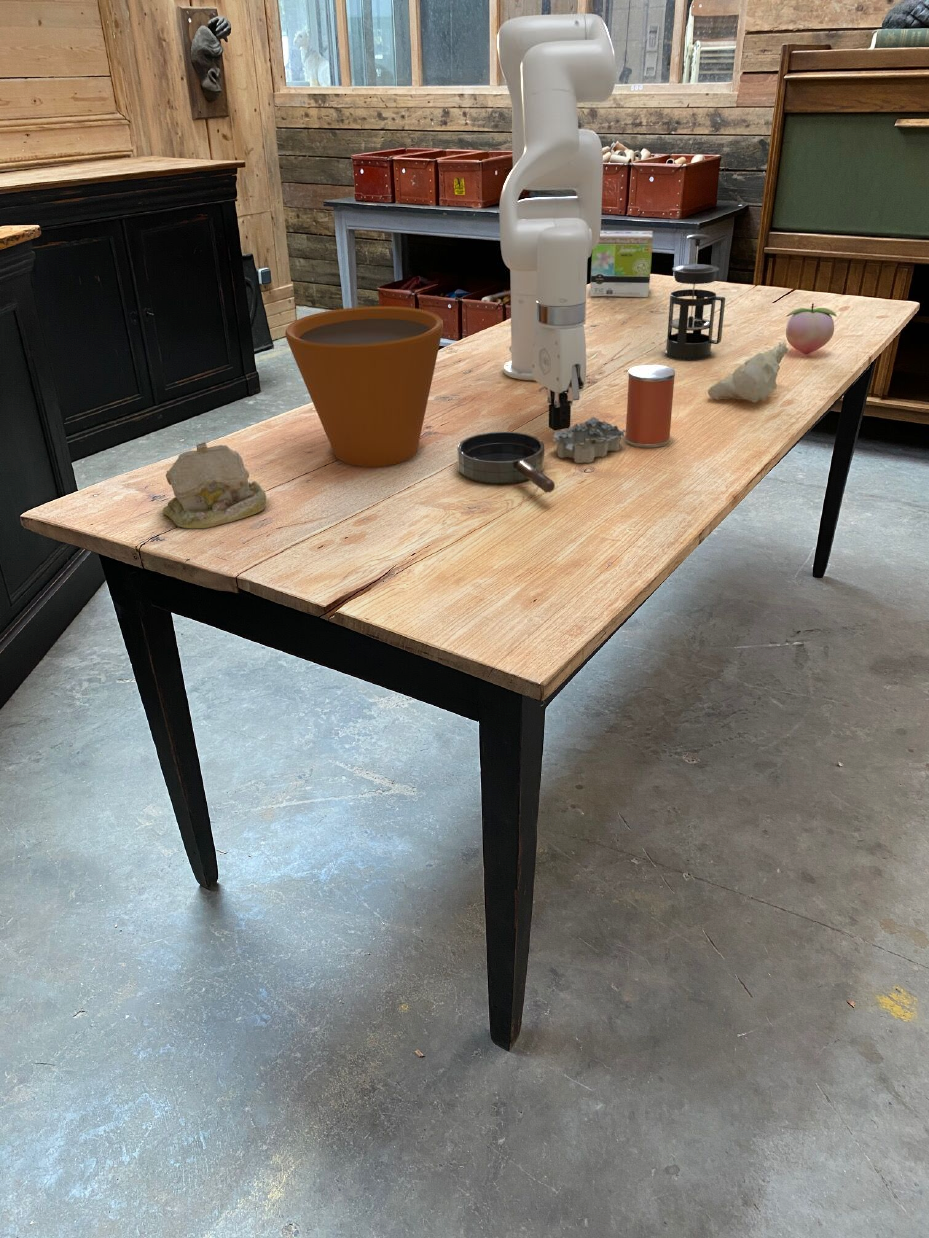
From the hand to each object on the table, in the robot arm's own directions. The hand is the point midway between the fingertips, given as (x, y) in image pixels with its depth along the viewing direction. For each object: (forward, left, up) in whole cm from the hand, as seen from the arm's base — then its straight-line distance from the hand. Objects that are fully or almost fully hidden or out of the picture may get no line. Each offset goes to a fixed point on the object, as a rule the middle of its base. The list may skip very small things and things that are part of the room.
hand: (559, 427), depth 154 cm
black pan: (+9, -15, -1) cm, 17 cm away
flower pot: (-8, -29, -2) cm, 30 cm away
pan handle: (+20, -15, +1) cm, 25 cm away
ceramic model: (+4, -57, -2) cm, 57 cm away
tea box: (-86, +63, -2) cm, 107 cm away
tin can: (+9, +11, -1) cm, 14 cm away
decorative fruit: (-18, +66, -2) cm, 68 cm away
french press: (-29, +46, -2) cm, 55 cm away
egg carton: (+8, +1, -2) cm, 9 cm away
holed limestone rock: (-2, +40, -2) cm, 40 cm away
